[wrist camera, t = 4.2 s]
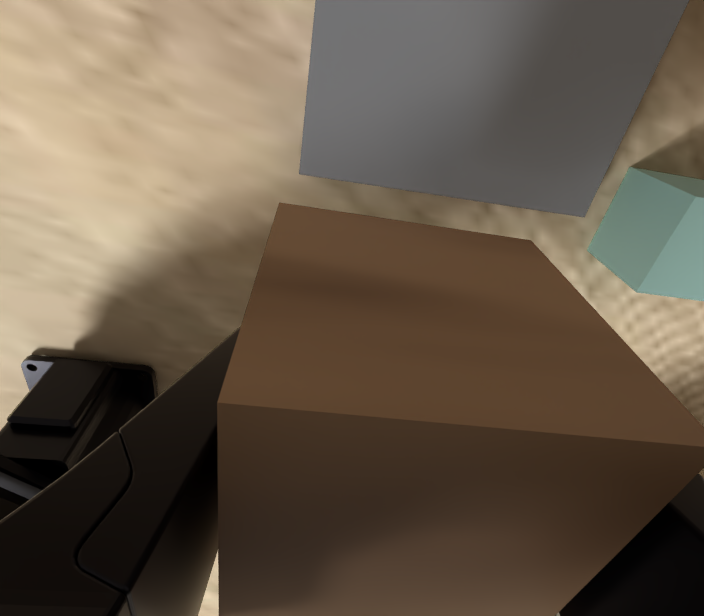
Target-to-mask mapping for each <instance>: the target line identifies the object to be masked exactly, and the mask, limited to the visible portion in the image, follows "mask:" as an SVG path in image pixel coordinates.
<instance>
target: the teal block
mask: <svg viewBox="0 0 704 616" xmlns="http://www.w3.org/2000/svg"><path fill="white" fill-rule="evenodd" d="M587 251H588V252H590V253H591V254H592V255H593V256H594V257H595V258H597V259H598V260H599V261H600V262H601V263H603V264H604V265H605V266H606V267H607V268H608V269H610V270H611V271H612V272H613V273H614V274H615V275H617V276H618V277H619V278H620V279H621V280H623V281H624V282H625V283H626V284H627V285H628V286H630V287H631V288H632V289H633V290H634V291H636V292H638V293H646V294H654V295H661V296H669V297H676V298H684V299H691V300H699V301H704V180H702V179H696V178H691V177H685V176H679V175H673V174H668V173H662V172H656V171H651V170H645V169H639V168H634V167H629V169H628V171H627V173H626V175H625V177H624V179H623V181H622V183H621V185H620V187H619V189H618V191H617V193H616V195H615V197H614V198H613V200H612V202H611V204H610V206H609V208H608V210H607V212H606V214H605V216H604V218H603V220H602V222H601V224H600V226H599V228H598V230H597V232H596V234H595V235H594V237H593V239H592V241H591V243H590V245H589V247H588V249H587Z"/></svg>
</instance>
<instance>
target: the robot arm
mask: <svg viewBox="0 0 704 616" xmlns="http://www.w3.org/2000/svg"><path fill="white" fill-rule="evenodd" d="M240 328H241V326H240V327H239V328H238V329H237V330H236V331H234V332H233V333H232V334H231V335H230V336H229V337H227V338H226V339H225V340H224V341H223V342H221V343H220V344H219V345H218V346H217V347H216V348H214V349H213V350H212V351H211V352H210V353H208V354H207V355H206V356H205V357H204V358H203V359H201V360H200V361H199V362H198V363H197V364H196V365H194V366H193V367H192V368H191V369H190V370H188V371H187V372H186V373H185V374H184V375H183V376H181V377H180V378H179V379H178V380H177V381H175V382H174V383H173V384H172V385H171V386H170V387H168V388H167V389H166V390H165V391H164V392H162V393H161V394H160V395H159V396H158V393H157V385H156V376H155V371H154V370H153V369H152V368H151V367H149V366H146V365H136V364H125V363H114V362H103V361H92V360H81V359H69V358H58V357H47V356H36V355H31V356H28V357H27V358H26V359H25V360H24V361H23V362H22V364H21V367H22V370H23V373H24V376H25V379H26V382H27V385H28V388H29V392H28V394H27V395H26V396H25V397H24V398H23V400H22V401H21V402H20V403H19V404H18V406H17V407H16V408H15V409H14V410H13V412H12V413H11V414H10V415H9V416H8V418H7V421H8V422H7V423H6V425H5V426H4V427H3V428H2V429H1V431H0V616H198V613H199V610H200V607H201V603H202V600H203V597H204V593H205V590H206V587H207V584H208V580H209V577H210V574H211V570H212V567H213V564H214V561H215V557H216V554H217V551H218V433H217V402H218V399H219V395H220V392H221V389H222V386H223V382H224V379H225V376H226V373H227V370H228V366H229V363H230V360H231V357H232V354H233V350H234V347H235V344H236V341H237V337H238V334H239V331H240ZM34 365H35V366H34ZM143 374H145V375H147V376H145V375H143ZM559 614H560V616H704V479H703V477H702V476H701V475H700V474H697V475H696V476H695V477H694V478H693V479H692V480H691V481H690V482H689V483H688V484H687V485H686V486H685V487H684V488H683V489H682V490H681V491H680V492H679V493H678V494H677V495H676V496H675V497H674V498H673V499H672V500H671V501H670V502H669V503H668V504H667V505H666V506H665V507H664V508H663V509H662V510H661V511H660V512H659V513H658V514H657V515H656V516H655V517H654V518H653V519H652V520H651V521H650V522H649V523H648V524H647V525H646V526H645V527H644V528H643V529H642V530H641V531H640V532H639V533H638V534H637V535H636V536H635V537H634V538H633V539H632V540H631V541H630V542H629V543H628V544H627V545H626V546H625V547H624V548H623V549H622V550H621V551H620V552H619V553H618V554H617V555H616V556H615V557H614V558H613V559H612V560H611V561H610V562H609V563H608V564H607V565H606V566H604V567H603V568H602V569H601V570H600V571H599V572H598V573H597V574H596V575H595V576H594V577H593V578H592V579H591V580H590V581H589V582H588V583H587V584H586V585H585V586H584V587H583V588H582V589H581V590H580V591H579V592H578V593H577V594H576V595H575V596H574V597H573V598H572V599H571V600H570V601H569V602H568V603H567V604H566V605H565V606H564V607H563V608H562V609H561V610H560V611H559Z"/></svg>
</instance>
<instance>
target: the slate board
mask: <svg viewBox="0 0 704 616" xmlns="http://www.w3.org/2000/svg"><path fill="white" fill-rule="evenodd" d="M688 2H689V0H316V2H315V12H314V23H313V33H312V44H311V54H310V65H309V75H308V85H307V96H306V106H305V117H304V127H303V138H302V148H301V159H300V169H299V174H301V175H308V176H314V177H321V178H328V179H334V180H341V181H347V182H354V183H361V184H367V185H374V186H380V187H387V188H394V189H400V190H407V191H413V192H420V193H427V194H433V195H440V196H446V197H453V198H460V199H466V200H473V201H479V202H486V203H493V204H499V205H506V206H512V207H519V208H526V209H532V210H539V211H546V212H552V213H559V214H565V215H572V216H579V217H585V215H586V213H587V211H588V209H589V207H590V204H591V202H592V200H593V198H594V196H595V194H596V192H597V190H598V188H599V186H600V184H601V182H602V180H603V178H604V176H605V173H606V171H607V169H608V167H609V165H610V163H611V161H612V159H613V157H614V155H615V153H616V151H617V149H618V147H619V145H620V142H621V140H622V138H623V136H624V134H625V132H626V130H627V128H628V126H629V124H630V122H631V120H632V118H633V116H634V114H635V111H636V109H637V107H638V105H639V103H640V101H641V99H642V97H643V95H644V93H645V91H646V89H647V87H648V85H649V83H650V80H651V78H652V76H653V74H654V72H655V70H656V68H657V66H658V64H659V62H660V60H661V58H662V56H663V54H664V51H665V49H666V47H667V45H668V43H669V41H670V39H671V37H672V35H673V33H674V31H675V29H676V27H677V25H678V23H679V20H680V18H681V16H682V14H683V12H684V10H685V8H686V6H687V4H688Z"/></svg>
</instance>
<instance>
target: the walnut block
mask: <svg viewBox="0 0 704 616" xmlns="http://www.w3.org/2000/svg"><path fill="white" fill-rule="evenodd" d="M217 433H218V565H219V616H555V615H556V614H557V613H558V612H559V611H560V610H561V609H562V608H563V607H564V606H565V605H566V604H567V603H568V602H569V601H570V600H571V599H572V598H573V597H574V596H575V595H576V594H577V593H578V592H579V591H580V590H581V589H582V588H583V587H584V586H585V585H586V584H587V583H588V582H589V581H590V580H591V579H592V578H593V577H594V576H595V575H596V574H597V573H598V572H599V571H600V570H601V569H602V568H603V567H604V566H606V565H607V564H608V563H609V562H610V561H611V560H612V559H613V558H614V557H615V556H616V555H617V554H618V553H619V552H620V551H621V550H622V549H623V548H624V547H625V546H626V545H627V544H628V543H629V542H630V541H631V540H632V539H633V538H634V537H635V536H636V535H637V534H638V533H639V532H640V531H641V530H642V529H643V528H644V527H645V526H646V525H647V524H648V523H649V522H650V521H651V520H652V519H653V518H654V517H655V516H656V515H657V514H658V513H659V512H660V511H661V510H662V509H663V508H664V507H665V506H666V505H667V504H668V503H669V502H670V501H671V500H672V499H673V498H674V497H675V496H676V495H677V494H678V493H679V492H680V491H681V490H682V489H683V488H684V487H685V486H686V485H687V484H688V483H689V482H690V481H691V480H692V479H693V478H694V477H695V476H696V475H697V474H698V473H699V472H700V471H701V470H702V469H703V468H704V427H703V426H702V425H701V424H700V423H699V422H698V421H697V420H696V419H695V418H694V417H693V415H692V414H691V413H690V412H689V411H688V410H687V409H686V408H685V407H684V406H683V405H682V404H681V402H680V401H679V400H678V399H677V398H676V397H675V396H674V395H673V394H672V393H671V392H670V391H669V389H668V388H667V387H666V386H665V385H664V384H663V383H662V382H661V381H660V380H659V379H658V378H657V376H656V375H655V374H654V373H653V372H652V371H651V370H650V369H649V368H648V367H647V366H646V365H645V363H644V362H643V361H642V360H641V359H640V358H639V357H638V356H637V355H636V354H635V353H634V352H633V350H632V349H631V348H630V347H629V346H628V345H627V344H626V343H625V342H624V341H623V340H622V339H621V337H620V336H619V335H618V334H617V333H616V332H615V331H614V330H613V329H612V328H611V327H610V326H609V324H608V323H607V322H606V321H605V320H604V319H603V318H602V317H601V316H600V315H599V314H598V313H597V311H596V310H595V309H594V308H593V307H592V306H591V305H590V304H589V303H588V302H587V301H586V300H585V298H584V297H583V296H582V295H581V294H580V293H579V292H578V291H577V290H576V289H575V288H574V287H573V285H572V284H571V283H570V282H569V281H568V280H567V279H566V278H565V277H564V276H563V275H562V274H561V272H560V271H559V270H558V269H557V268H556V267H555V266H554V265H553V264H552V263H551V262H550V261H549V259H548V258H547V257H546V256H545V255H544V254H543V253H542V252H541V251H540V250H539V249H538V248H537V246H536V245H535V244H534V243H533V242H532V241H531V240H524V239H518V238H511V237H504V236H498V235H491V234H484V233H478V232H471V231H464V230H458V229H451V228H444V227H438V226H431V225H424V224H418V223H411V222H404V221H398V220H391V219H385V218H378V217H371V216H365V215H358V214H351V213H345V212H338V211H331V210H325V209H318V208H311V207H305V206H298V205H291V204H285V203H279V206H278V209H277V212H276V215H275V219H274V222H273V225H272V228H271V231H270V235H269V238H268V241H267V244H266V248H265V251H264V254H263V257H262V260H261V264H260V267H259V270H258V273H257V276H256V280H255V283H254V286H253V289H252V293H251V296H250V299H249V302H248V305H247V309H246V312H245V315H244V318H243V321H242V325H241V328H240V331H239V334H238V337H237V341H236V344H235V347H234V350H233V354H232V357H231V360H230V363H229V366H228V370H227V373H226V376H225V379H224V382H223V386H222V389H221V392H220V395H219V399H218V402H217Z"/></svg>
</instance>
